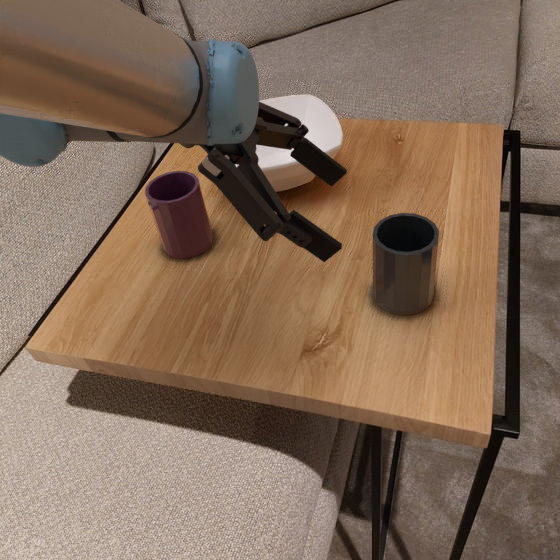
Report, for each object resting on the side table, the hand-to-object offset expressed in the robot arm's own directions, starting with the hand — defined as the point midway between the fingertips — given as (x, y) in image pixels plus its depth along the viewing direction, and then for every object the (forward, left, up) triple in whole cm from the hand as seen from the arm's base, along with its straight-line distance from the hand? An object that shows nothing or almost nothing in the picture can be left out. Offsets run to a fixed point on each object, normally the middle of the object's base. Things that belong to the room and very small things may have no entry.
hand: (336, 213), depth 66 cm
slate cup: (+4, -7, -13) cm, 15 cm away
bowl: (+18, +23, -13) cm, 32 cm away
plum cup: (-2, +25, -13) cm, 29 cm away
